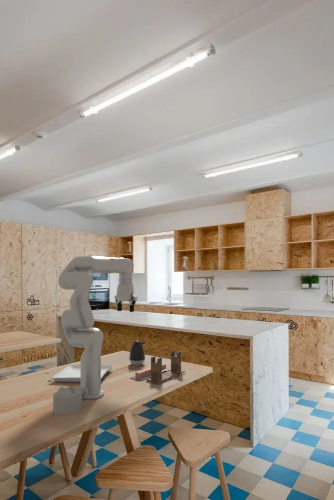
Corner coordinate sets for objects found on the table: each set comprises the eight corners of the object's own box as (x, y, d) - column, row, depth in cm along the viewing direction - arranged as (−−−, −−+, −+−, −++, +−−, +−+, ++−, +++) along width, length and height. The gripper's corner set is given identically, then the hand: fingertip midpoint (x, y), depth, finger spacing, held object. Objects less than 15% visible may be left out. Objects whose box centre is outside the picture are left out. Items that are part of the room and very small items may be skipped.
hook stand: (158, 384, 176) (158, 359, 177) (146, 381, 181) (146, 357, 182) (185, 373, 196) (184, 351, 197) (174, 371, 201) (173, 349, 202)
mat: (141, 381, 182) (141, 380, 182) (130, 378, 187) (130, 377, 187) (171, 369, 203) (171, 369, 203) (160, 367, 208) (160, 367, 208)
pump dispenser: (144, 366, 211) (144, 341, 212) (128, 366, 211) (128, 342, 213) (146, 362, 221) (146, 339, 223) (130, 362, 222) (130, 339, 223)
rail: (139, 378, 185) (139, 373, 185) (135, 377, 186) (135, 372, 187) (166, 369, 204) (166, 364, 204) (162, 368, 206) (162, 363, 206)
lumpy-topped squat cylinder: (49, 413, 140) (49, 391, 141) (66, 402, 153) (67, 382, 153) (71, 415, 137) (71, 393, 138) (87, 404, 150) (87, 384, 150)
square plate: (113, 371, 204) (113, 364, 204) (100, 385, 176) (100, 377, 177) (70, 370, 206) (70, 363, 207) (50, 384, 179) (50, 376, 179)
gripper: (110, 281, 198) (110, 311, 196) (132, 281, 187) (132, 312, 186) (119, 281, 203) (119, 310, 202) (141, 281, 193) (141, 311, 192)
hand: (125, 311), depth 194 cm, fingers open, 9 cm apart
